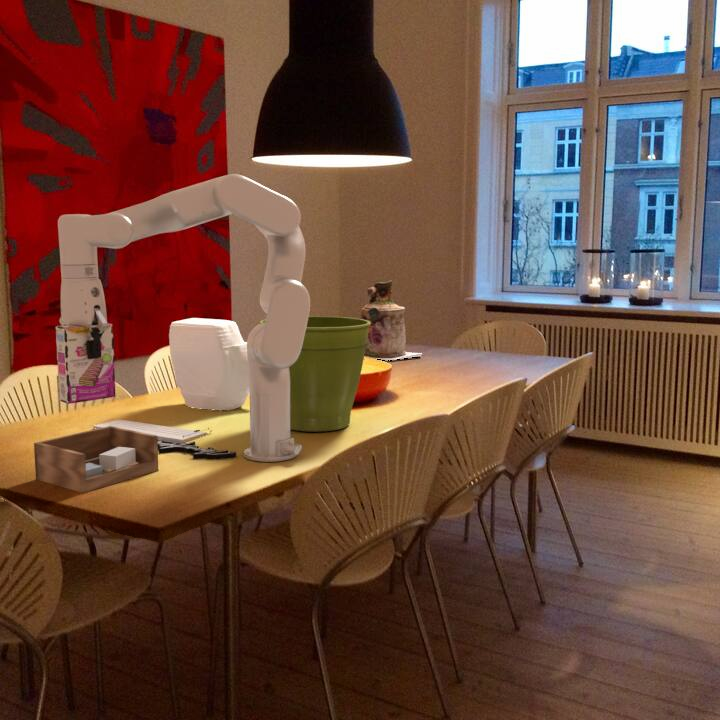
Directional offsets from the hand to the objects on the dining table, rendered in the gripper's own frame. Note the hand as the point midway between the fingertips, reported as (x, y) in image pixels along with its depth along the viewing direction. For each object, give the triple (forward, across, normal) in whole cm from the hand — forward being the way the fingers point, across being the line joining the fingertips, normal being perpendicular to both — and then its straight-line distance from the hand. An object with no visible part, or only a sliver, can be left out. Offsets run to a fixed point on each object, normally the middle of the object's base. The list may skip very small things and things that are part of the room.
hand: (85, 356), depth 186 cm
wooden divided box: (+26, -3, +1) cm, 26 cm away
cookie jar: (+29, +43, -178) cm, 186 cm away
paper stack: (+27, +28, -65) cm, 75 cm away
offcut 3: (+26, -7, -1) cm, 27 cm away
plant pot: (+27, -11, -65) cm, 71 cm away
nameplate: (+27, -3, -25) cm, 37 cm away
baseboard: (+27, +19, -34) cm, 47 cm away
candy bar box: (+10, 0, 0) cm, 10 cm away
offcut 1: (+26, -7, +6) cm, 28 cm away
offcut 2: (+23, -7, -1) cm, 25 cm away
